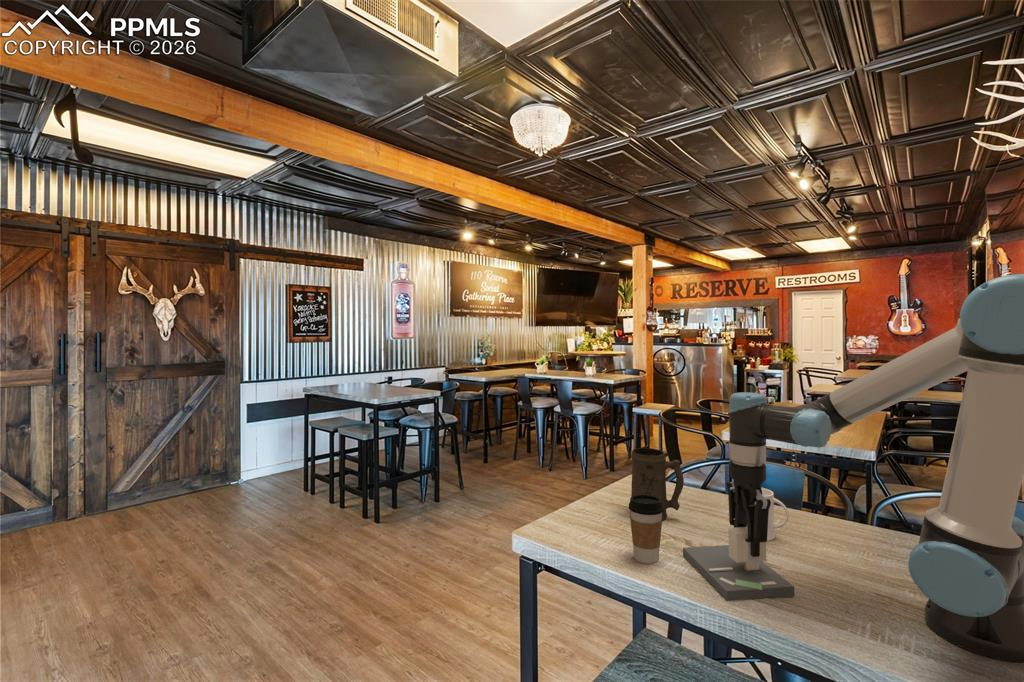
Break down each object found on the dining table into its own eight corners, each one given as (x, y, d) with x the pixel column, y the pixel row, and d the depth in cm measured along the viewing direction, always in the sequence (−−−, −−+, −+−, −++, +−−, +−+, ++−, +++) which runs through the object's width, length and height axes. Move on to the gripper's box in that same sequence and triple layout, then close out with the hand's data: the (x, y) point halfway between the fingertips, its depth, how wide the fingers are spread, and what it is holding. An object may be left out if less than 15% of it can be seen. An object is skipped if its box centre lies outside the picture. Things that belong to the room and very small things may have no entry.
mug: (791, 537, 130) (791, 492, 130) (783, 548, 124) (783, 501, 124) (744, 525, 138) (744, 483, 138) (735, 535, 132) (735, 491, 131)
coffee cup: (639, 568, 114) (639, 505, 114) (622, 552, 122) (622, 494, 122) (671, 563, 116) (670, 501, 116) (651, 548, 125) (651, 490, 124)
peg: (766, 571, 108) (766, 531, 108) (713, 575, 107) (713, 535, 107) (757, 564, 111) (757, 526, 111) (705, 568, 110) (705, 529, 110)
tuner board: (795, 596, 102) (795, 587, 101) (727, 601, 100) (727, 591, 100) (740, 552, 122) (740, 544, 122) (683, 555, 120) (683, 547, 120)
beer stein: (626, 520, 143) (630, 453, 142) (628, 506, 153) (632, 444, 152) (681, 529, 138) (686, 460, 137) (679, 515, 149) (684, 451, 148)
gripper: (787, 471, 101) (786, 582, 102) (742, 451, 117) (742, 547, 118) (753, 473, 100) (753, 584, 101) (712, 453, 116) (713, 549, 117)
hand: (747, 564), depth 109 cm, fingers closed on peg, 3 cm apart
